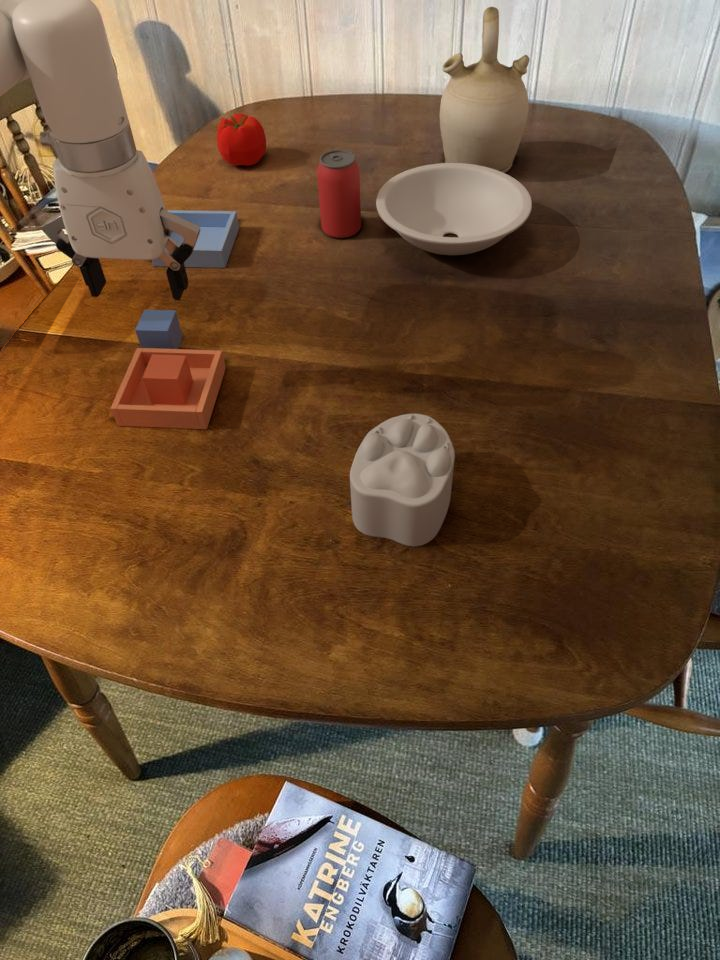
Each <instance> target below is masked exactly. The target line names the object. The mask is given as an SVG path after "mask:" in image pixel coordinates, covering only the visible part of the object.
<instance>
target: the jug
mask: <svg viewBox="0 0 720 960" xmlns="http://www.w3.org/2000/svg"><path fill="white" fill-rule="evenodd" d="M499 36H500V11H499V9H498V8H497V7H495V6H488V7H487V8H485V9H484V11H483V15H482V34H481V57H480V59H479V60H478V61H477V62H474V63H471V64H469V65H467V66H466V65H465V62H464V55H463V53H461V52H459V53H455V54H453V55H451V56H450V57H449V58H448V59H447V60H446V61H445V62H444V63H443V65H442V68H441V69H442V72H444V73H445V74H447V75H448V76H450V77H451V78H450V79H449V80H448V82H447V84H446V86H445V88H444V90H443V93H442V95H441V99H440V106H439V129H440V136H441V142H442V148H443V156H444V163H465V164H473V165H479V166H484V167H488V168H492V169H495V170H498V171H500V172H503V173H505V174H507V173H508V171H509V170H511V168H512V166H513V162H514V160H515V157H516V155H517V153H518V150H519V147H520V144H521V141H522V138H523V134H524V131H525V128H526V125H527V121H528V118H529V117H528V116H529V109H530V108H529V107H530V104H529V103H530V102H529V94H528V91H527V88H526V85H525V83H524V80H523V78H522V77H523V76H524V75H526V74H527V72H528V66H529V64H530V57H529V56H528V55H527V54H524V55H522V56H521V57H520V58H518V59H514V60H513V61H512V65H511V66H507V65H505V64H503V63H500V62H499V60H498V50H499V39H500V38H499Z"/></svg>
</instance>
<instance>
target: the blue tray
mask: <svg viewBox="0 0 720 960" xmlns="http://www.w3.org/2000/svg"><path fill="white" fill-rule="evenodd" d="M167 211H168V212H170V213H172V214H174V215H176V216H178V217H181V218H183V219H185V220H187V221H189V222H191V223H193V224H196V225H197V226H199V227H200V233H199V236H198V239H197V242H196V244H195V247H194V249H193V252H192V254H191V255H190V257H189V258H188V259H187V260H186V261H185V262H184V265H185V268H206V269H207V268H212V269H213V268H215V269H221V268H222V269H226V267H227V263H228V262H229V259H230V256H231V252H232V249H233V248H234V244H235V242H236V238H237V235H238V233H239V230H240V225H239V219H238V214H237V211H236V210H232V211H231V210H190V209H189V210H184V209H183V210H182V209H181V210H180V209H179V210H178V209H167ZM170 237H171V238H172V239H173V240H174V241H175V242H177V243H178V244H179V245H181V244H182V243H183V242H184V238H183V236H181V235H179V234H177V233H175V232H173V231H171V236H170ZM165 249H166V248H165ZM169 252H170V251H169ZM170 253H171V252H170ZM171 254H172V253H171ZM151 262H152V266H153V267H163V268H165V267H166V268H168V266H167V265H166V264H165V263H164V262H163V261H162V260H160V259H159V258H157V259H153V260H151Z"/></svg>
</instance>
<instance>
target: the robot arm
mask: <svg viewBox="0 0 720 960" xmlns="http://www.w3.org/2000/svg"><path fill="white" fill-rule="evenodd" d="M118 78H119V77H118V73H117V69H116V66H115V62H114V58H113V55H112V51H111V46H110V42H109V39H108V36H107V31H106V28H105V23H104V21H103V17H102V15H101V12H100V10H99V8H98V6H97V5H96V4H95V3H94V2H93V0H0V97H1V96H3V95H4V94H6V93H7V92H8V91H9V90H10V89H12V88H13V87H14V86H16V85H18V84H20V83H22V82H24V81H26V80H28V79H30V81H31V84H32V86H33V89H34V92H35V95H36V98H37V101H38V103H39V107H40V110H41V112H42V115H43V118H44V121H45V124H46V126H47V131H40V133H39V142H40V144H41V146H43V147H49V148H50V149H53V152H54V155H55V160H54V161H53V162H52V175H53V180H54V187H55V192H56V198H57V203H58V206H59V210H60V212H59V213H57V214H55V215H53V216H51V217H50V218H48V219H46V220H45V222H44V223H43V224H42V226H41V231H42V232H43V233H44V234H45V235H46V237H48V239H49V240H50V241H51V243H53V244H55V248H56V249H57V250H58V251H59V252H61V253H62V254H63V255H65V256H67V258H68V257H69V258H70V259H71V263H72V264H73V265H74V266H75V267H79V270H80V273H81V276H82V278H83V281H84V284H85V285H86V287H88V290H89V292H90V295H91V297H92V298H98V297H100V295H101V293H102V291H104V290H103V289H104V288H105V286H106V284H107V279H106V275H105V273H104V270H103V267H102V264H101V261H100V259H104V260H105V259H107V260H128V261H129V260H130V261H131V260H134V261H152V260H153V259H157V258H159V259H160V260H162V261H163V262H164V263H165V264H166V265H167V266H168V267H167V269H166V277H167V281H168V285H169V289H170V293H171V296H172V299H173V300H174V301H181V299H182V297H183V295H184V292H185V291H187V289H188V286H189V278H188V273H187V269H186V267H185V265H184V262H185V261H186V260H187V259H188V258H189V257H190V255H191V254H192V252H193V249H194V247H195V244H196V242H197V239H198V236H199V233H200V227H199V226H197V225H196V224H193V223H191V222H189V221H187V220H185V219H183V218H181V217H178V216H176V215H174V214H172V213H170V212H168V210H167V209H166V205H165V202H164V199H163V196H162V193H161V190H160V187H159V184H158V182H157V179H156V177H155V175H154V172H153V170H152V167H151V166H150V164H149V162H148V160H147V157H146V155H145V154H144V152H143V151H142V150H138V149H137V146H136V143H135V138H134V135H133V131H132V127H131V123H130V120H129V116H128V112H127V109H126V105H125V100H124V97H123V93H122V89H121V84H120V82H119V79H118ZM63 229H65V231H64V230H63ZM171 231H173V232H175V233H177V234H179V235H181V236H183V238H184V242H183V243H182V244H181V245H179V244H178V243H177V242H175V241H174V240H173V239H172V238H171V237H170V236H171ZM65 232H66V233H65ZM165 248H166V249H165ZM169 251H170V252H171V253H172V254H171V253H170V252H169Z"/></svg>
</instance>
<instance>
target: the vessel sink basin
mask: <svg viewBox="0 0 720 960" xmlns="http://www.w3.org/2000/svg"><path fill="white" fill-rule="evenodd" d="M375 207H376V210H377V213H378V215H379V217H380V218H381V220H382V221H383V222H384V223H385V224H386V225H387V226H388V227H390V228H391V229H393V230H394V231H395V232H396V233H397V234H398V235H399V236H400V237H402V239H404V240H405V241H406V242H407V243H409V244H410V245H412V246H415V247H416V248H418V249H420V250H422V251H425V252H428V253H432V254H435V255H442V256H461V255H462V256H463V255H470V254H474V253H478V252H480V251H484V250H486V249H489V248H490V247H492V246H494V245H496V244H498V243H499V242H500V241H501V240H503V239H504V238H505V237H506V236H508V235H510V234H511V233H513V232H515V231H517V230H518V229H520V227H522V226H523V225H524V224H525V222H526V221H527V220H528V218H529V217H530V215H531V213H532V208H533V203H532V197H531V194H530V192H529V191H528V190H527V188H526V186H524V185H523V184H522V183H521V182H520V181H518V179H515V178H514V177H512V176H511V175H509V174H507V173H503V172H500V171H498V170H495V169H492V168H488V167H484V166H479V165H473V164H465V163H446V162H441V163H432V164H426V165H420V166H417V167H413V168H409V169H407V170H404V171H402V172H400V173H398V174H396V175H394V176H393V177H391V178H389V179H388V180H387V181H386V182H385V183H384V184H382V186H381V187H380V189H379V190H378V193H377V196H376V200H375ZM448 234H454V235H456V236H457V237H455V236H453V237H451V236H445V235H448Z"/></svg>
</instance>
